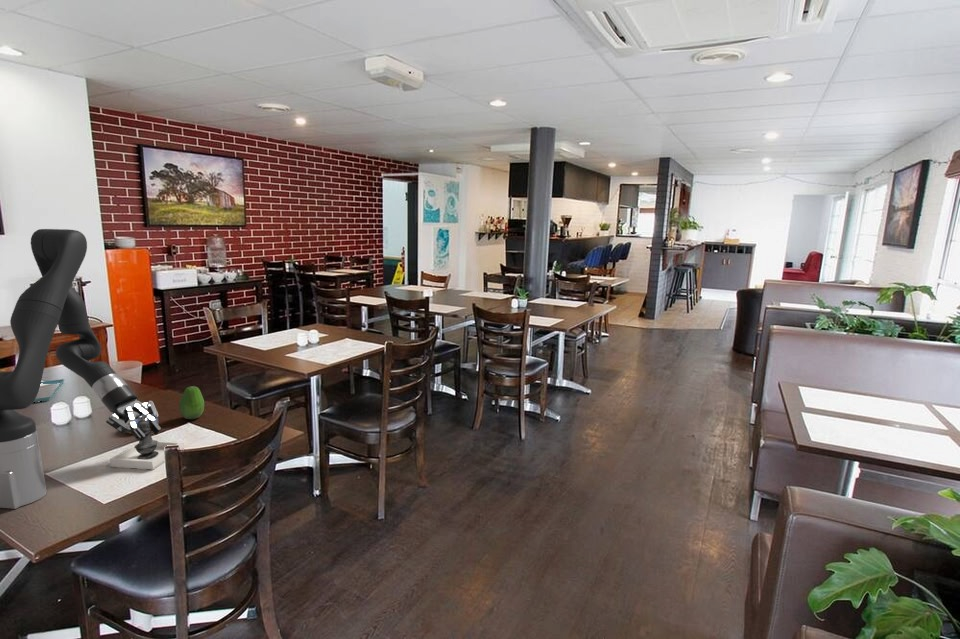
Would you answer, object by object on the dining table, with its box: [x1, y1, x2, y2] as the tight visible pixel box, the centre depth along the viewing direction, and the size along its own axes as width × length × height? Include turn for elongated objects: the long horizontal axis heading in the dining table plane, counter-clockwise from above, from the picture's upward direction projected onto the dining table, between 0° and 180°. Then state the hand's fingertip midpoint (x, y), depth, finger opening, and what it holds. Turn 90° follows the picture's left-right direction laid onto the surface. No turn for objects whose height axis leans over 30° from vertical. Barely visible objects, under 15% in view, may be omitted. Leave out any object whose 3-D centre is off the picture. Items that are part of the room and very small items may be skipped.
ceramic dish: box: [109, 439, 185, 471], centre depth 148 cm, size 13×13×2 cm
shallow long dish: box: [34, 378, 65, 402], centre depth 201 cm, size 26×9×2 cm, turn 30°
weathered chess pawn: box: [134, 417, 159, 459], centre depth 147 cm, size 6×6×12 cm
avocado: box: [178, 385, 205, 420], centre depth 177 cm, size 8×8×12 cm
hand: (151, 435), depth 146 cm, fingers open, 4 cm apart
